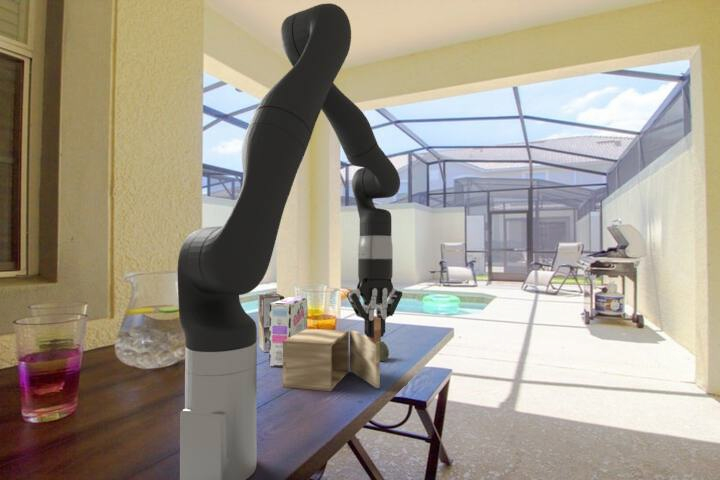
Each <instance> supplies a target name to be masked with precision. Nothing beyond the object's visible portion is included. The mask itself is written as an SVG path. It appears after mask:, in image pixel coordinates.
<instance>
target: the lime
mask: <svg viewBox="0 0 720 480" xmlns="http://www.w3.org/2000/svg"><path fill="white" fill-rule="evenodd" d="M379 342H380V362H386V361H387V360H388V358H389V355H390V352H389V348H388V345H387V344H386V343H385V342H384V341H379Z"/></svg>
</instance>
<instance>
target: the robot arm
mask: <svg viewBox="0 0 720 480" xmlns="http://www.w3.org/2000/svg"><path fill="white" fill-rule="evenodd" d="M280 41H281V45H282V48H283V51H284V53H285V55H286V57H287V59H288V61H289V62H290V64H291V66H292V68H290V69H289V71H288V72H287V73H286V74H285V75H283V77H282V78H281V79H279V81H278V82H277V83H276V84H274V86H273V87H271V89H270V90H269V91H268V92H267V93H266V94H265V95H264V97H263V98H262V99H261V100H260V102H259V104H258V105H257V108H255V111H254V113H253V115H252V118H251V120H249V124H248V126H247V128H246V130H245V134H244V136H243V138H242V139H243V140H242V144H241V162H242V164H241V165H242V171H243V172H242V175H243V176H242V177H243V178H242V184H241V187H240V188H241V189H240V192H239V195H238V196H237V199H236V201H235V203H234V206H233V207H232V210H231V212H230V214H229V216H228V218H227V219H226V220H225V223H224V224H223V225H221V226H209V227H202V228H199V229H196V230H195V231H193V232H191V233H190V234H189V235H188V236H187V237H186V238H185V239H184V241H183V243H182V245H181V247H180V249H179V254H178V259H177V295H178V296H177V300H178V316H179V323H180V325H181V328H182V331H183V333H184V338H185V339H184V340H185V342H184V343H185V344H184V345H185V347H184V348H185V349H184V350H185V354H184V357H185V360H184V361H185V365H184V366H185V368H184V370H185V371H184V409H182V410H181V411H180V417H179V419H180V420H179V421H180V425H179V429H180V430H179V433H180V434H179V438H180V439H179V480H247V479H249V478H250V477H251V476H252V475H253V474H254V473H255V471H256V469H257V457H258V456H257V448H258V447H257V444H258V443H257V401H258V400H257V399H258V397H257V377H258V376H257V371H258V370H257V358H258V357H257V355H258V351H257V350H258V343H257V342H258V338H257V337H258V336H257V335H258V330H257V324H256V322H255V320H254V319H253V318H252V317H251V316H250V315H249V314H248V313H247V312H246V311H245V309H244V308H243V306H242V303H241V300H240V296H243V295H246V294H249V293H251V292H252V291H253V290H255V289H256V288H257V287H258V286H259V285H260V283H261V282H262V281H263V279H264V277H265V275H266V273H267V271H268V268H269V266H270V263H271V259H272V256H273V253H274V248H275V244H276V240H277V237H278V234H279V233H278V232H279V229H280V225H281V221H282V219H283V213H284V211H285V208H286V204H287V202H288V199H289V196H290V193H291V190H292V188H293V184H294V181H295V178H296V177H297V176H296V175H297V173H298V170H299V168H300V165H301V164H302V161H303V159H304V156H305V154H306V151H307V148H308V146H309V143H310V141H311V139H312V135H313V132H314V128H315V126H316V122H317V120H318V118H319V116H320V113H321V111H322V112H323V114H324V115H325V117H326V118H327V120H328V122H329V123H330V126H331V127H332V129H333V132H335V134H336V138H337V139H338V141H339V143H340V146H341V148H342V151H343V153H344V154H345V157H346V159H347V160H348V162H349V163H350V164H351V165H352V166H354V167H360V168H359V169H357V170H356V171H355V172H354V173H353V176H352V179H351V188H352V193H353V196H354V199H355V200H354V201H355V204H356V207H357V208H356V209H357V212H358V218H359V238H358V246H357V247H358V251H357V252H358V253H357V258H358V261H357V263H358V264H357V270H358V271H357V274H358V275H357V277H358V283H357V285H356V288H355V290H353V291H349V292H347V293H346V298H347V299H348V301H349V303H350V305H351V308H352V309H353V311H354V313H355V315H356V317H360V318H362V319H363V320H364V335H366V336H367V337H369V338H373V337H374V321H373V319H374V316H376V317H379V318H381V338H382V337H384V336H385V334H386V319H387V318H388V317H393V316H394V314H395V311H396V310H397V307H398V305H399V303H400V301H401V299H402V297H403V292H402V291H401V290H397V289H396V288H395V287H394V285H393V283H392V278H393V265H394V264H393V254H394V253H393V252H394V250H393V240H392V238H393V237H392V214H391V212H390V211H389V210H387V209H383V208H378V207H377V206H375V203H374V200H375V199H388V198H392V197H395V195H397V194H398V192H399V190H400V187H401V179H400V175H399V171H398V170H397V168H396V166H395V165H394V164H393V162H392V161H391V160H390V158H388V156H387V155H386V154H385V152H384V151H383V150H382V148H381V147H380V146H379V144H378V141H377V139H376V136H375V134H374V131H373V129H372V126H371V124H370V122H369V120H368V118H367V117H366V115H365V113H364V112H363V111H362V110H361V109H360V108H359V106H358V105H356V103H354V102H353V101H352V100H351V99H350V98H349V97H347V96H346V94H344V93H343V92H342V91H341V90H340V89H339V87H338V86H337V85H336V84H335V83H334V82H335V81H336V79H337V76H338V74H339V73H340V70H341V69H342V67H343V65H344V64H345V61H346V59H347V58H348V57H347V56H348V55H349V52H350V48H351V43H352V26H351V22H350V19H349V16H348V15H347V13H346V11H345V10H344V9H343V8H342V7H340V6H339V5H337V4H335V3H328V2H327V3H320V4H317V5H314V6H311V7H309V8H307V9H303V10H301V11H297V12H296V13H293V14H290V15H288V16H287V17H286V18H285V19H283V22H282V24H281V28H280ZM361 298H362V301H363V302H361V301H360V300H361ZM375 314H376V315H375Z"/></svg>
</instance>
